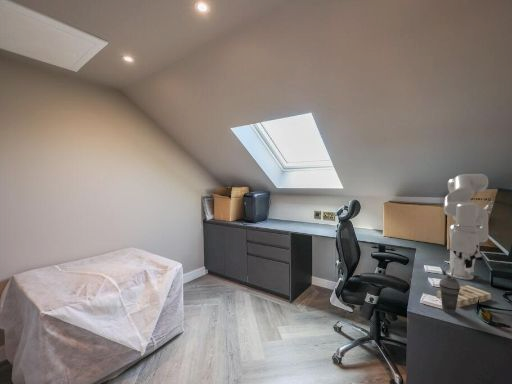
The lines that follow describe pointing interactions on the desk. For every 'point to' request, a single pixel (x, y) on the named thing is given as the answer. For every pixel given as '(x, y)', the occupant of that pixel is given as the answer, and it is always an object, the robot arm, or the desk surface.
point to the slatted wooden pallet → (469, 296)
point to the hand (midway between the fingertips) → (464, 266)
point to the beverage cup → (449, 293)
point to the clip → (462, 265)
